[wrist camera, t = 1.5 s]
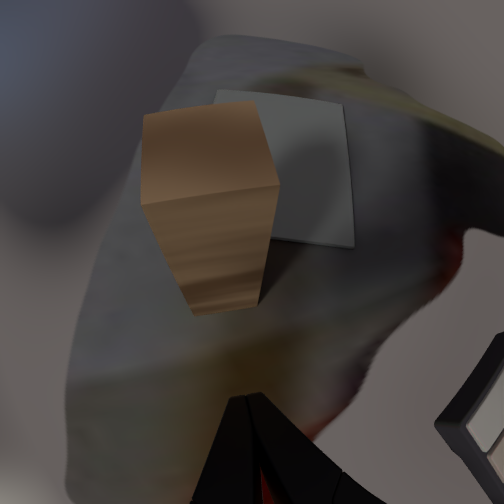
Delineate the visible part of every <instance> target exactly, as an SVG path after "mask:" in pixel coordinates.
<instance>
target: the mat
mask: <svg viewBox="0 0 504 504" xmlns="http://www.w3.org/2000/svg"><path fill="white" fill-rule="evenodd" d="M251 100H254V102H255V105H256V108H257V111H258V114H259V117H260V120H261V124H262V127H263V130H264V133H265V136H266V139H267V143H268V146H269V149H270V152H271V155H272V159H273V162H274V165H275V169H276V172H277V175H278V179H279V182H280V189H279V195H278V200H277V205H276V211H275V216H274V221H273V227H272V232H271V237H270V239H275V240H283V241H292V242H300V243H308V244H316V245H324V246H332V247H340V248H348V249H354V247H355V241H354V220H353V203H352V190H351V177H350V166H349V156H348V147H347V138H346V129H345V122H344V114H343V107H342V105H341V104H336V103H331V102H325V101H319V100H313V99H306V98H300V97H293V96H285V95H277V94H268V93H258V92H248V91H235V90H220V89H218V91H217V94H216V97H215V100H214V103H213V104H220V103H229V102H239V101H251Z"/></svg>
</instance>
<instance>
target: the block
mask: <svg viewBox="0 0 504 504" xmlns="http://www.w3.org/2000/svg"><path fill="white" fill-rule="evenodd" d="M279 189H280V182H279V179H278V175H277V172H276V169H275V165H274V162H273V159H272V155H271V152H270V149H269V146H268V143H267V139H266V136H265V133H264V130H263V127H262V124H261V120H260V117H259V114H258V111H257V108H256V105H255V102H254V100H251V101H239V102H229V103H220V104H211V105H203V106H196V107H189V108H182V109H176V110H170V111H164V112H158V113H153V114H147V115H144V120H143V137H142V161H141V206H142V209H143V211H144V213H145V215H146V218H147V220H148V222H149V224H150V227H151V229H152V231H153V233H154V235H155V237H156V240H157V242H158V244H159V246H160V248H161V250H162V252H163V255H164V257H165V259H166V261H167V263H168V265H169V267H170V269H171V271H172V273H173V275H174V277H175V279H176V281H177V283H178V285H179V287H180V289H181V291H182V293H183V295H184V297H185V299H186V301H187V303H188V305H189V307H190V309H191V311H192V313H193V315H194V316H200V315H207V314H213V313H220V312H226V311H232V310H238V309H245V308H251V307H256V306H257V304H258V299H259V294H260V289H261V284H262V279H263V274H264V268H265V263H266V258H267V253H268V248H269V242H270V237H271V232H272V227H273V221H274V216H275V211H276V205H277V200H278V195H279Z"/></svg>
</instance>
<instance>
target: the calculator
mask: <svg viewBox="0 0 504 504" xmlns="http://www.w3.org/2000/svg"><path fill="white" fill-rule="evenodd" d="M434 427H435V429H436V430H437V431H438V433H439V434H440V435H441V437H442V438H443V439H444V441H445V442H446V443H447V445H448V446H449V447H450V449H451V450H452V451H453V452H454V453H455V454H457V455H458V456H459V457H460V458H461V459H462V460H463V462H464V463H465V464H466V466H467V467H468V469H469V470H470V471H471V473H472V474H473V476H474V477H475V479H476V480H477V481H478V483H479V484H480V486H481V487H482V489H483V490H484V492H485V493H486V494H487V496H488V497H489V499H490V500H491V502H492V503H493V504H504V332H502V333H498V334H497V335H495V337H494V339H493V340H492V342H491V344H490V345H489V347H488V348H487V350H486V351H485V353H484V355H483V356H482V358H481V359H480V361H479V362H478V364H477V365H476V367H475V368H474V370H473V371H472V373H471V374H470V376H469V377H468V378H467V380H466V381H465V383H464V384H463V385H462V387H461V388H460V389H459V391H458V392H457V394H456V395H455V396H454V397H453V399H452V400H451V401H450V403H449V404H448V405H447V406H446V408H445V409H444V410H443V411H442V413H441V414H440V415H439V416H438V417H437V419H436V420H435V422H434Z"/></svg>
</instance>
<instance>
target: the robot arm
mask: <svg viewBox="0 0 504 504" xmlns="http://www.w3.org/2000/svg"><path fill="white" fill-rule="evenodd" d="M259 463H260V464H259ZM260 467H261V470H262V473H263V476H264V479H265V481H266V484H267V486H268V489H269V491H270V494H271V496H272V499H273V501H274V504H386V503H385V502H383V501H382V500H380V499H379V498H377V497H376V496H374V495H373V494H371V493H370V492H369V491H367V490H366V489H365V488H363V487H362V486H361V485H360V484H358V483H357V482H356V481H354V480H353V479H352V478H351V477H350V476H349V475H348V474H347V473H345V472H342V469H341V468H340V467H339V466H337V465H336V464H335V463H334V462H333V461H332V460H331V459H330V458H329V457H327V456H326V455H325V454H324V453H323V452H322V451H321V450H320V449H319V448H318V447H317V446H316V445H315V444H314V443H313V442H311V441H310V440H309V439H308V438H307V437H306V436H305V435H304V434H303V433H302V432H301V431H300V430H299V429H298V428H297V427H296V426H295V425H294V424H293V423H292V422H291V421H290V420H289V419H288V418H287V417H286V416H285V415H284V414H283V413H282V412H281V411H280V410H279V409H278V408H277V407H276V406H275V405H274V404H273V403H272V402H271V401H270V400H269V399H268V398H267V397H266V396H265V395H264V394H263V393H262V392H257V393H251V394H247V395H246V396H245V395H239V396H233V397H230V398H229V400H228V403H227V406H226V409H225V411H224V414H223V417H222V419H221V422H220V425H219V428H218V430H217V433H216V436H215V438H214V441H213V444H212V446H211V449H210V452H209V454H208V457H207V460H206V462H205V465H204V468H203V470H202V473H201V476H200V478H199V481H198V483H197V486H196V489H195V491H194V494H193V496H192V500H193V501H190V504H263V494H262V481H261V470H260Z"/></svg>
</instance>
